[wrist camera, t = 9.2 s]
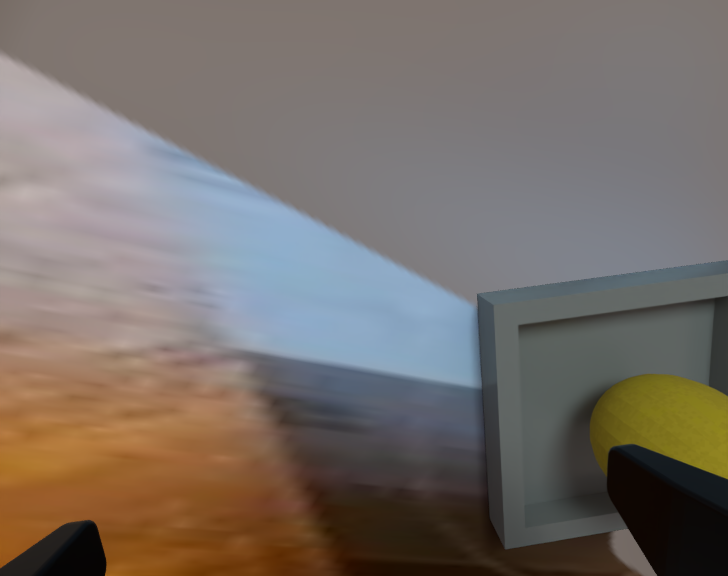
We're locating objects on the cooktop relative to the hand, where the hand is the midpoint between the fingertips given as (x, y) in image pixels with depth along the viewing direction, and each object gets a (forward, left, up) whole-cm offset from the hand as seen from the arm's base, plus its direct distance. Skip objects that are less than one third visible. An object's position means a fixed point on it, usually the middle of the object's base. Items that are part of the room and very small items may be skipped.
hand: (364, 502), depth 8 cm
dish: (-6, -12, -12) cm, 18 cm away
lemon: (-6, -12, -12) cm, 18 cm away
